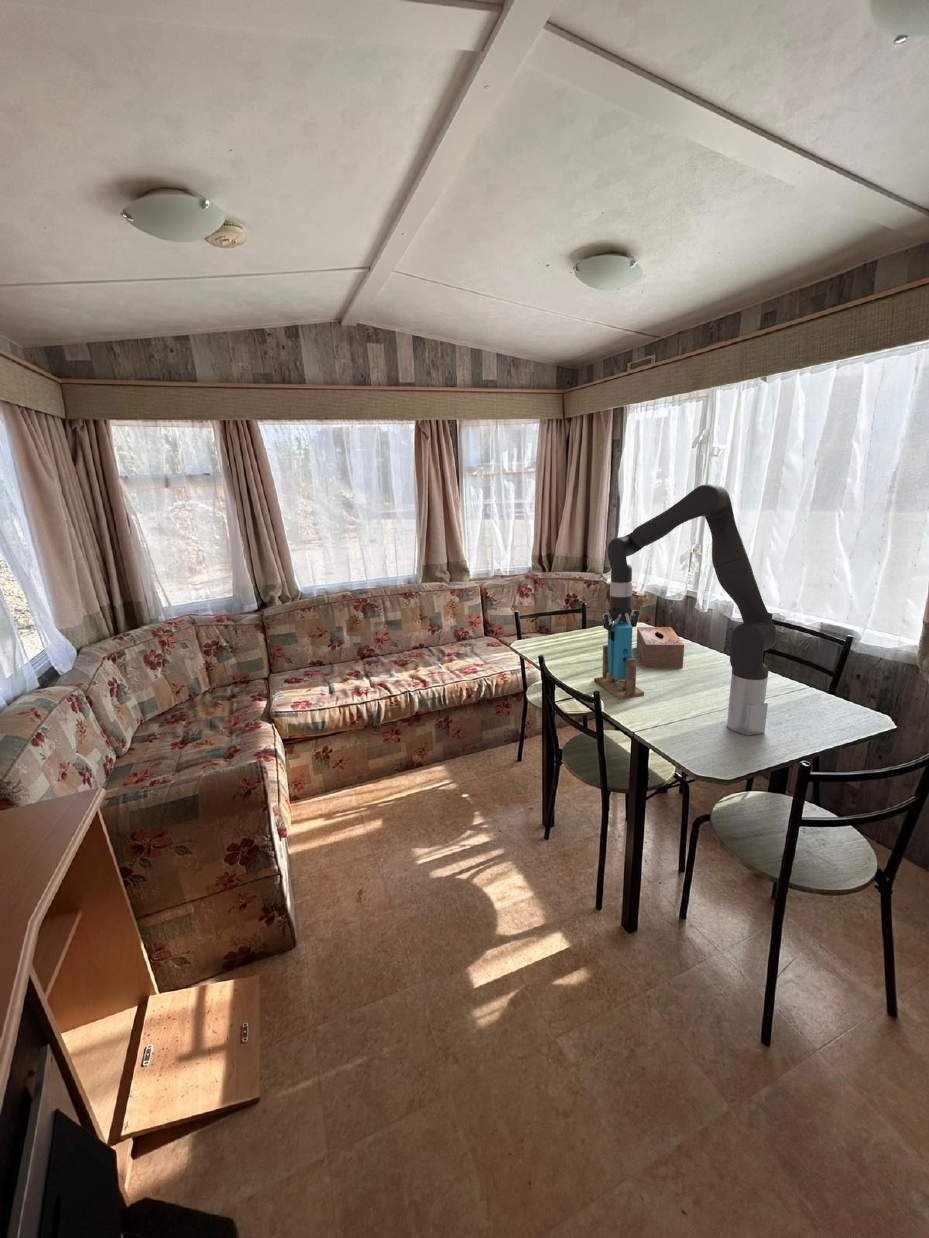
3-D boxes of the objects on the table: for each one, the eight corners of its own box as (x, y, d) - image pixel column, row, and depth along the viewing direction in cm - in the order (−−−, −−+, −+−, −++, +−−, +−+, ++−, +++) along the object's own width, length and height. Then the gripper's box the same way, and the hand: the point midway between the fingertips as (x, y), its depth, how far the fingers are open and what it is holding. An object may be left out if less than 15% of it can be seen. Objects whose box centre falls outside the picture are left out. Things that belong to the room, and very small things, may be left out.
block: (631, 681, 176) (633, 627, 171) (618, 682, 175) (619, 628, 170) (619, 669, 187) (620, 618, 182) (606, 670, 187) (607, 619, 182)
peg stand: (617, 677, 192) (618, 643, 189) (643, 695, 175) (645, 657, 172) (594, 680, 190) (594, 646, 187) (618, 699, 173) (619, 661, 170)
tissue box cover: (636, 648, 226) (637, 627, 223) (669, 648, 223) (671, 627, 220) (645, 667, 202) (646, 644, 199) (682, 668, 199) (684, 644, 196)
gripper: (607, 597, 169) (606, 645, 173) (645, 593, 172) (643, 640, 176) (597, 593, 176) (596, 639, 180) (633, 590, 179) (631, 634, 183)
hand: (619, 639), depth 178 cm, fingers closed on block, 5 cm apart
